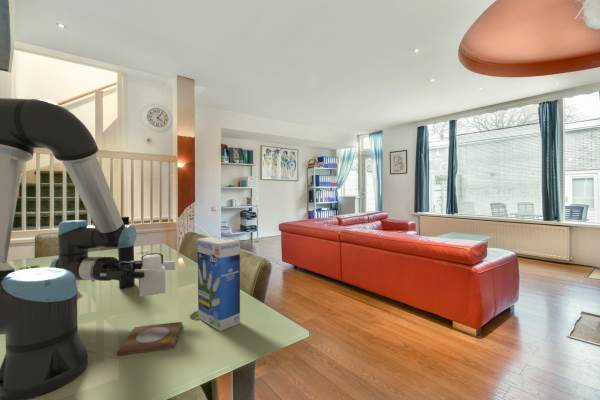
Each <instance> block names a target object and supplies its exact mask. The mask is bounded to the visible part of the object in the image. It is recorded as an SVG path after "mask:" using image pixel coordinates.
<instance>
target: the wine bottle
mask: <svg viewBox="0 0 600 400" xmlns="http://www.w3.org/2000/svg"><path fill="white" fill-rule="evenodd" d="M121 218H122V220H123V223H124V225H130V217H129V216H121ZM117 255H118V256H117V259H118V261H119V262H124V261H126V262H130V261H131V260H135V243H134V244H133V245H132V246H131V247H125V248H117ZM131 270H132V268H131ZM135 280H136V279H135V278H134V281H133V282H129V279H127V281H119V280H118V288H120V289H125V288H131V287H134V286H136V285H135V284H136V283H135Z"/></svg>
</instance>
